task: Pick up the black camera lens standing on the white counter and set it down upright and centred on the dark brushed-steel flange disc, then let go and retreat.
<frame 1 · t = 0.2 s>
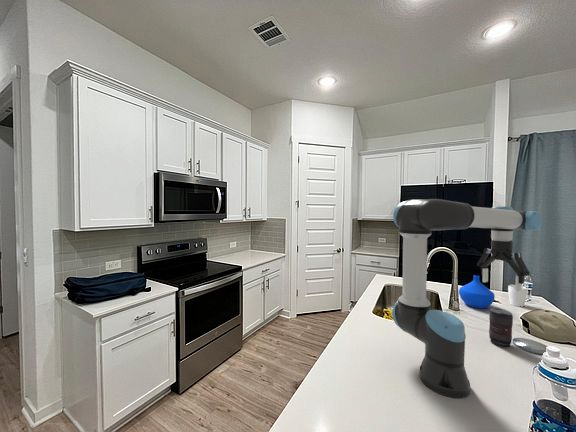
hand: (500, 286, 114), 26 cm above the countertop, fingers open, 13 cm apart
camera lens: (500, 344, 113), on the countertop
cup: (516, 305, 161), on the countertop
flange: (530, 347, 110), on the countertop
vase: (475, 305, 159), on the countertop
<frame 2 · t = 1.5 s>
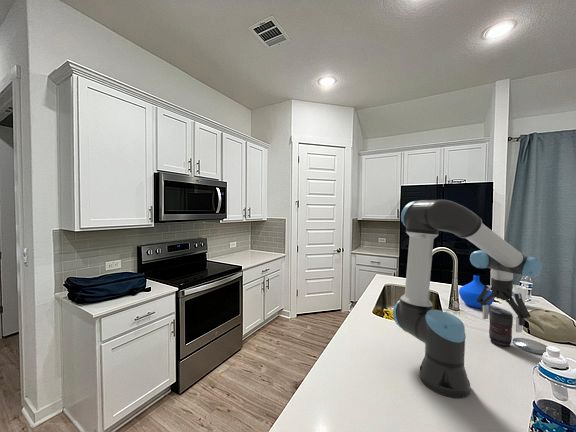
hand: (501, 324, 113), 9 cm above the countertop, fingers open, 13 cm apart
nothing on the countertop moved.
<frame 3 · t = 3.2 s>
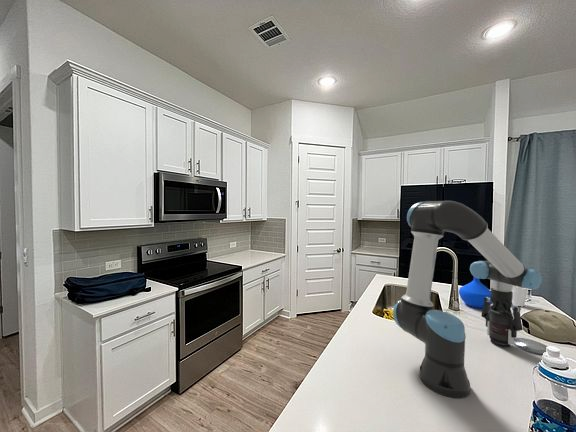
hand: (500, 338, 113), 2 cm above the countertop, fingers closed on camera lens, 8 cm apart
camera lens: (500, 344, 113), on the countertop, touching gripper
everything else where it was.
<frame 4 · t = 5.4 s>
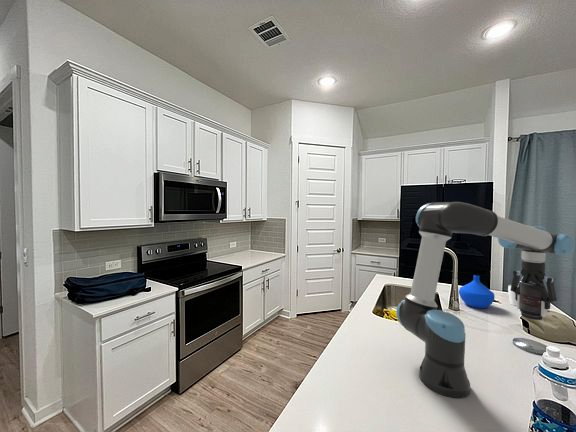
hand: (531, 312, 110), 16 cm above the countertop, fingers closed on camera lens, 8 cm apart
camera lens: (531, 317, 110), point 13 cm above the countertop, touching gripper
everything else where it was.
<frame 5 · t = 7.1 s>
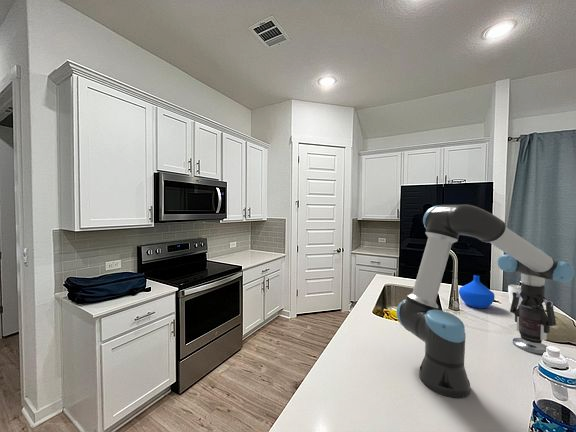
hand: (531, 334, 110), 6 cm above the countertop, fingers closed on camera lens, 8 cm apart
camera lens: (531, 340, 110), point 3 cm above the countertop, touching gripper
everything else where it was.
when the fingers open (5 cm above the countertop, at t = 8.1 s): camera lens drops 2 cm, resting on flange.
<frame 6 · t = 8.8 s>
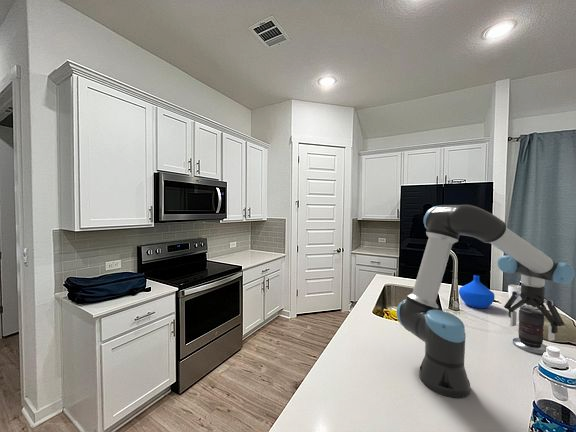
hand: (531, 332, 110), 7 cm above the countertop, fingers open, 13 cm apart
camera lens: (530, 344, 110), point 1 cm above the countertop, touching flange
everything else where it was.
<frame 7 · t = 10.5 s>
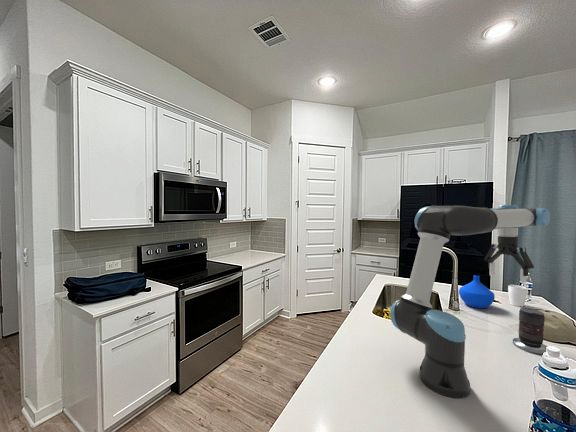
hand: (506, 278, 122), 27 cm above the countertop, fingers open, 13 cm apart
nothing on the countertop moved.
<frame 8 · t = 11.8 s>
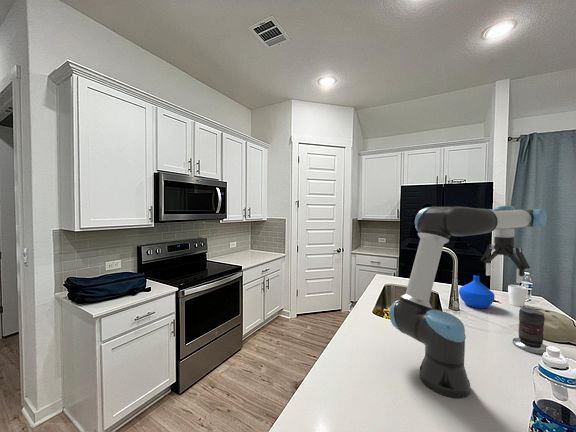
hand: (503, 278, 124), 27 cm above the countertop, fingers open, 13 cm apart
nothing on the countertop moved.
at the end: camera lens 0.1 cm from the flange (horizontally); camera lens tilted 0°; camera lens point 1.2 cm above the countertop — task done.
